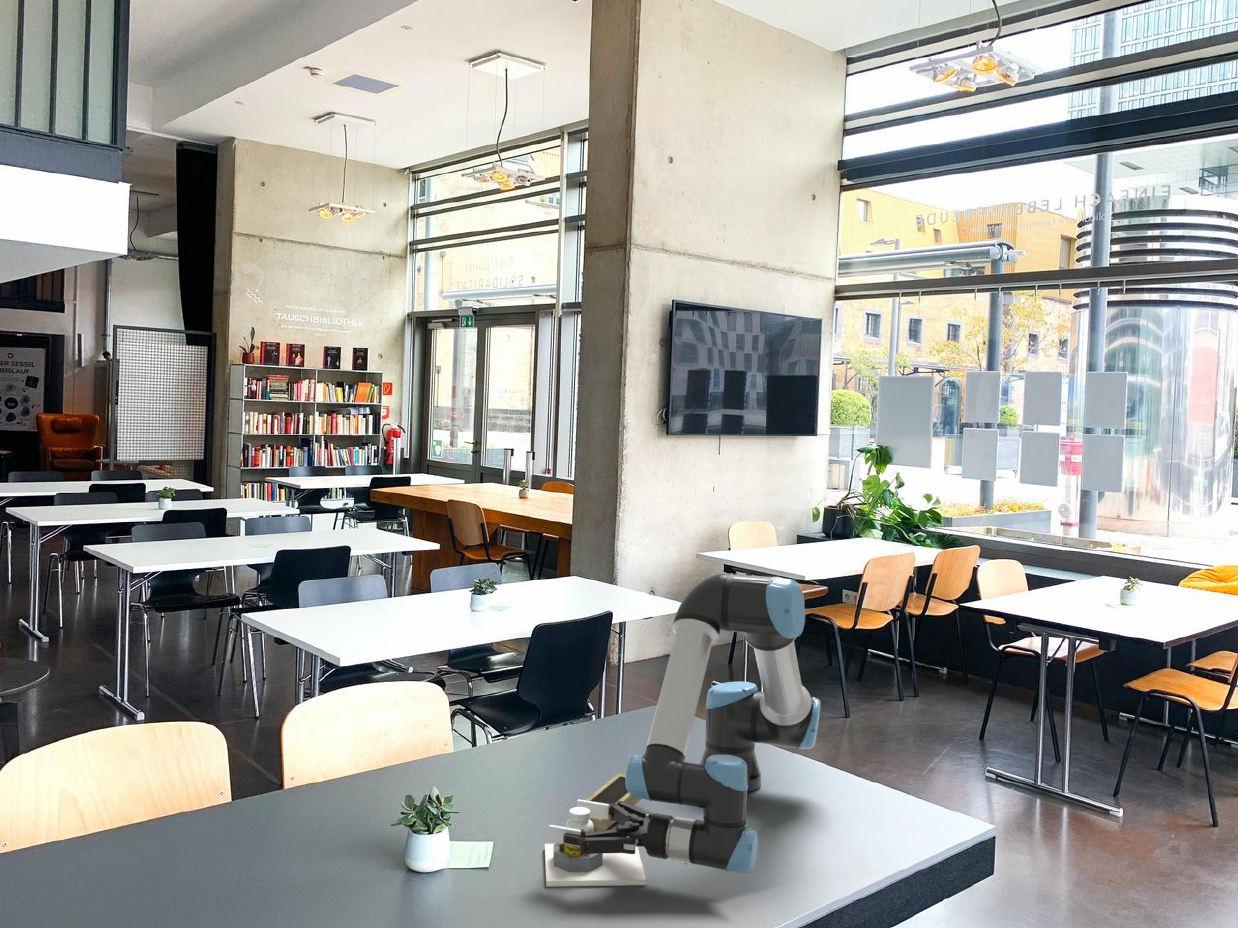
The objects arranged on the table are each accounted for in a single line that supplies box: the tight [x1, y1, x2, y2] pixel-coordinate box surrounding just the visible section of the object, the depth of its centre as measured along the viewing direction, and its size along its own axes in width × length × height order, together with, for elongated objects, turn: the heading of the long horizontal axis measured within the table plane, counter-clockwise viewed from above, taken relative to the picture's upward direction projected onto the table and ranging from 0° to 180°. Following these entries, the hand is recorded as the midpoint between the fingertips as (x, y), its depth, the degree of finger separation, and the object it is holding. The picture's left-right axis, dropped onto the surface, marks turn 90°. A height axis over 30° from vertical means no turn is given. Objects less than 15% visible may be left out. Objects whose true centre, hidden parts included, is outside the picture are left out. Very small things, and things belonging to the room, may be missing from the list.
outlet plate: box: [544, 842, 647, 888], centre depth 185 cm, size 18×16×4 cm
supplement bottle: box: [564, 806, 594, 856], centre depth 185 cm, size 5×5×10 cm
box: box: [585, 772, 643, 832], centre depth 208 cm, size 8×22×5 cm, turn 148°
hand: (563, 819), depth 186 cm, fingers open, 13 cm apart
